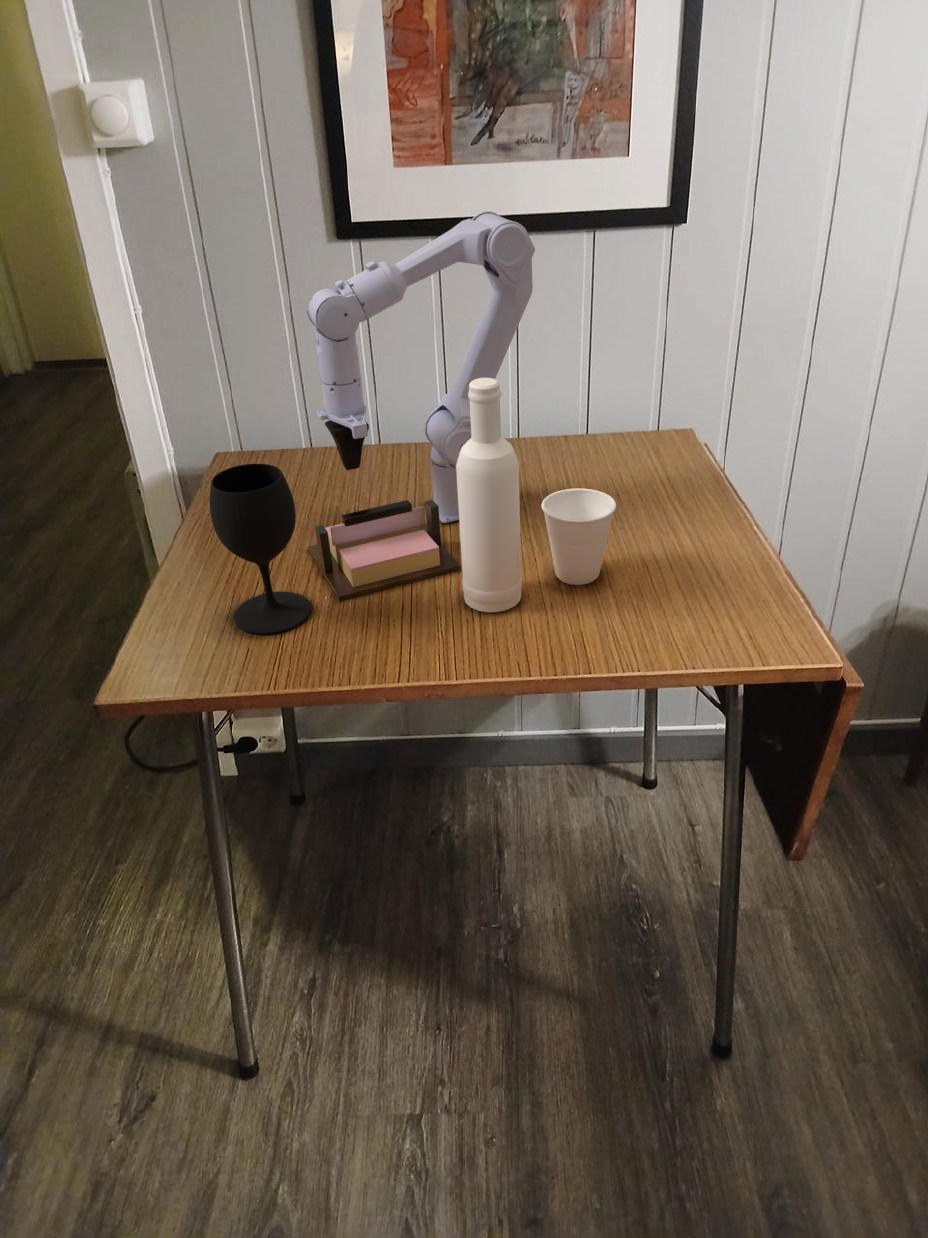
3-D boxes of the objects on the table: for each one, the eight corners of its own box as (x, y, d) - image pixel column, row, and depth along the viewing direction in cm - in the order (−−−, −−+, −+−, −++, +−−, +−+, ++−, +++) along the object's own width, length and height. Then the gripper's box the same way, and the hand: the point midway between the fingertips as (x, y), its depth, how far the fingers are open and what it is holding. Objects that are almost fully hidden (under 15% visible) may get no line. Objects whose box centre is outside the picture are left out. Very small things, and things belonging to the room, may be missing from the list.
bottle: (527, 609, 123) (524, 389, 107) (469, 617, 122) (456, 396, 106) (514, 579, 130) (509, 368, 113) (459, 586, 129) (446, 374, 112)
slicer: (420, 524, 145) (416, 481, 141) (460, 569, 133) (457, 525, 129) (308, 550, 140) (301, 507, 136) (339, 601, 127) (332, 555, 123)
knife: (422, 521, 137) (420, 496, 134) (426, 525, 135) (424, 500, 133) (331, 543, 132) (327, 517, 130) (334, 547, 131) (330, 522, 129)
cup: (566, 601, 124) (567, 528, 118) (528, 569, 132) (527, 499, 126) (627, 580, 128) (631, 508, 122) (586, 550, 135) (588, 481, 129)
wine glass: (276, 643, 119) (248, 502, 108) (217, 622, 124) (185, 486, 113) (327, 605, 126) (306, 469, 116) (270, 587, 131) (244, 455, 120)
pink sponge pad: (407, 526, 143) (405, 508, 141) (440, 565, 132) (439, 547, 131) (326, 545, 139) (323, 527, 137) (353, 587, 128) (350, 568, 127)
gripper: (300, 369, 136) (313, 455, 143) (327, 399, 125) (340, 491, 132) (346, 361, 138) (356, 446, 146) (377, 389, 127) (387, 481, 134)
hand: (352, 467), depth 139 cm, fingers closed
